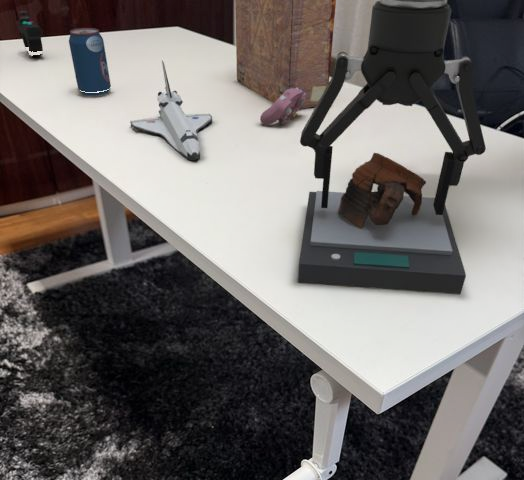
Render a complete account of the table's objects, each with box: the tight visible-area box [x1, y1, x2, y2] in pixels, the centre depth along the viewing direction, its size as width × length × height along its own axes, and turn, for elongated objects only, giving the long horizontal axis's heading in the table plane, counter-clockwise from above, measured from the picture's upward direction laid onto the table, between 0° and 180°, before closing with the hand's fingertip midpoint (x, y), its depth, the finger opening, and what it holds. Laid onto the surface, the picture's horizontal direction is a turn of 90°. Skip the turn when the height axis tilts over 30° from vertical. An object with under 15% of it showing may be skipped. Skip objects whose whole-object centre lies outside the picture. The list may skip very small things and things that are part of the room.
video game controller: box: [259, 88, 307, 126], centre depth 103 cm, size 10×5×7 cm, turn 150°
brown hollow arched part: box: [338, 152, 427, 228], centre depth 65 cm, size 12×10×8 cm
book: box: [234, 0, 337, 110], centre depth 109 cm, size 25×9×30 cm, turn 27°
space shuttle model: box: [129, 60, 213, 161], centre depth 94 cm, size 16×25×10 cm, turn 18°
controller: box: [16, 10, 44, 57], centre depth 140 cm, size 4×12×10 cm, turn 31°
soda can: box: [68, 27, 112, 98], centre depth 114 cm, size 7×7×12 cm
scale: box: [297, 190, 467, 295], centre depth 67 cm, size 18×19×3 cm
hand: (380, 206), depth 66 cm, fingers open, 13 cm apart
